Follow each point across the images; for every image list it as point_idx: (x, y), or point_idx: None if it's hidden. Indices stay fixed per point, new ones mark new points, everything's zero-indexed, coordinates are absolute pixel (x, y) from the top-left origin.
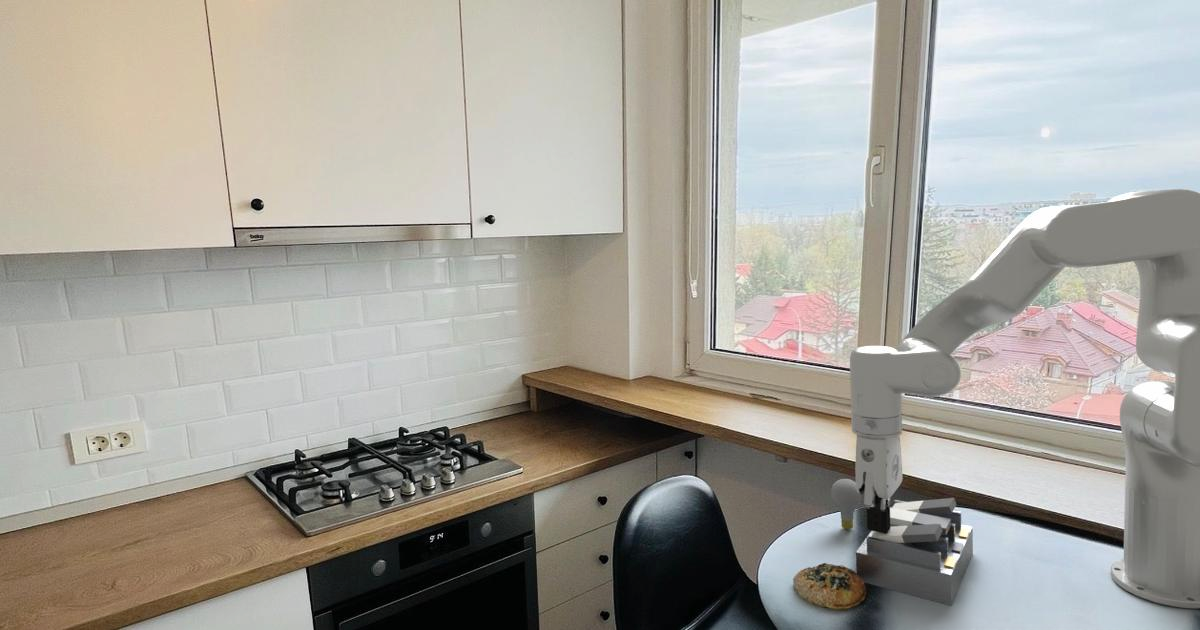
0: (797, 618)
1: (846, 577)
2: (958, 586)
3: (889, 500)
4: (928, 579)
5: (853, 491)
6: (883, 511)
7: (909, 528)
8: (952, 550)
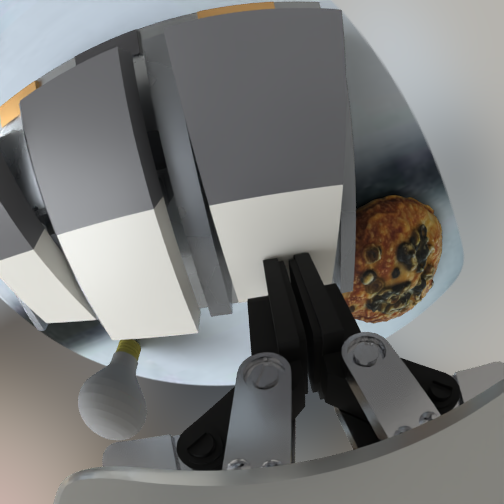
0: (460, 255)
1: (412, 247)
2: None
3: (244, 382)
4: None
5: (111, 410)
6: (372, 335)
7: (250, 180)
8: (140, 50)
